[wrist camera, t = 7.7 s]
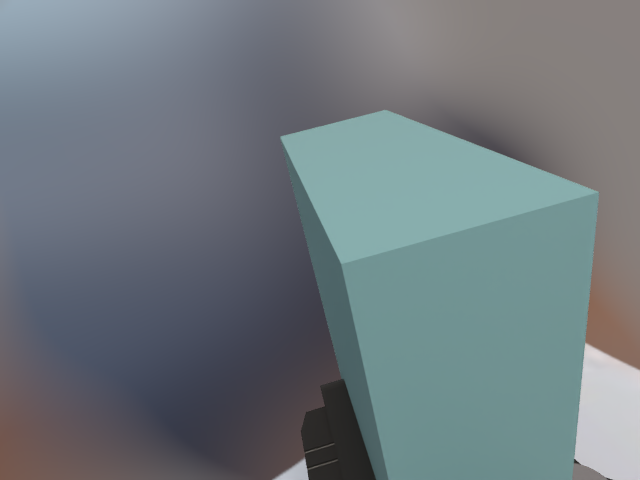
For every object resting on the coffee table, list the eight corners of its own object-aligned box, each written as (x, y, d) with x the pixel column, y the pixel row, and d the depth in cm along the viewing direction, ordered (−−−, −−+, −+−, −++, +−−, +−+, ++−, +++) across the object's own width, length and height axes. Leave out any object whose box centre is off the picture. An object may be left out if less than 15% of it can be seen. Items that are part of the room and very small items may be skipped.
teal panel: (458, 797, 10) (341, 264, 4) (384, 545, 16) (280, 136, 9) (545, 765, 11) (598, 191, 4) (443, 526, 16) (385, 109, 9)
